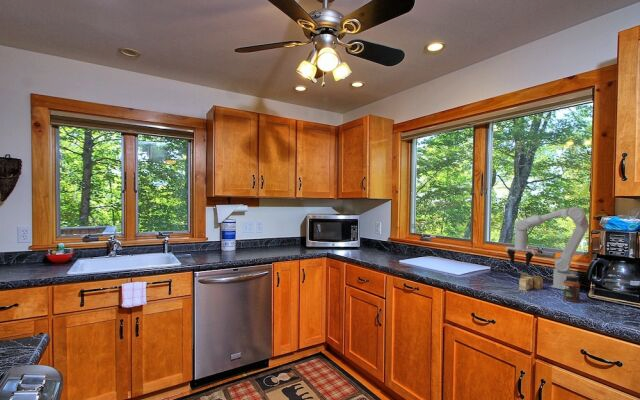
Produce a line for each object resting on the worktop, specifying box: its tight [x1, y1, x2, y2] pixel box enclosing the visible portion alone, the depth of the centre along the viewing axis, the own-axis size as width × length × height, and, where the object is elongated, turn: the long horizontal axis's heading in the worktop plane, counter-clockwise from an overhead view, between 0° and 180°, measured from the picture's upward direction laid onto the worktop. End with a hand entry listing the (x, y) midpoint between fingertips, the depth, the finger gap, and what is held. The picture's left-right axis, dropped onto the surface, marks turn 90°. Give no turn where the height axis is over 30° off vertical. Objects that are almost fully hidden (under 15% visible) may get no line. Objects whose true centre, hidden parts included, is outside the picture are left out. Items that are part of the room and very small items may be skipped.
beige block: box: [518, 276, 534, 292], centre depth 163 cm, size 10×3×6 cm, turn 126°
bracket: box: [520, 272, 544, 290], centre depth 167 cm, size 9×4×7 cm, turn 36°
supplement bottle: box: [562, 276, 581, 303], centre depth 145 cm, size 6×6×11 cm
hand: (519, 264), depth 177 cm, fingers open, 7 cm apart
